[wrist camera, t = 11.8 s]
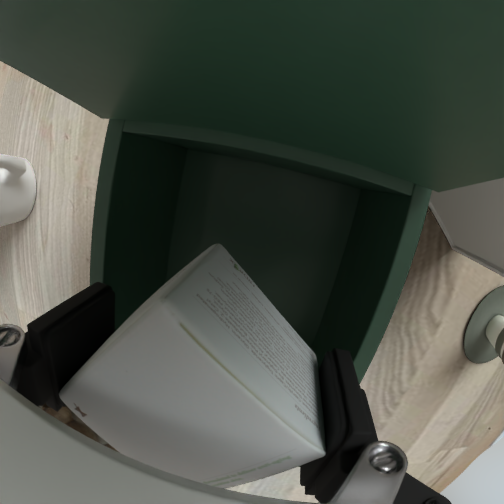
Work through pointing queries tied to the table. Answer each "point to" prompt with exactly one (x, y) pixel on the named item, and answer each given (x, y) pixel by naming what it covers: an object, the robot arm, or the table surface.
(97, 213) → the bin
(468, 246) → the gravestone
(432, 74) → the bin lid
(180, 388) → the small box
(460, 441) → the table surface
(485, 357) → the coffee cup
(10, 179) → the mug
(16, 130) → the table surface
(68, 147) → the table surface
